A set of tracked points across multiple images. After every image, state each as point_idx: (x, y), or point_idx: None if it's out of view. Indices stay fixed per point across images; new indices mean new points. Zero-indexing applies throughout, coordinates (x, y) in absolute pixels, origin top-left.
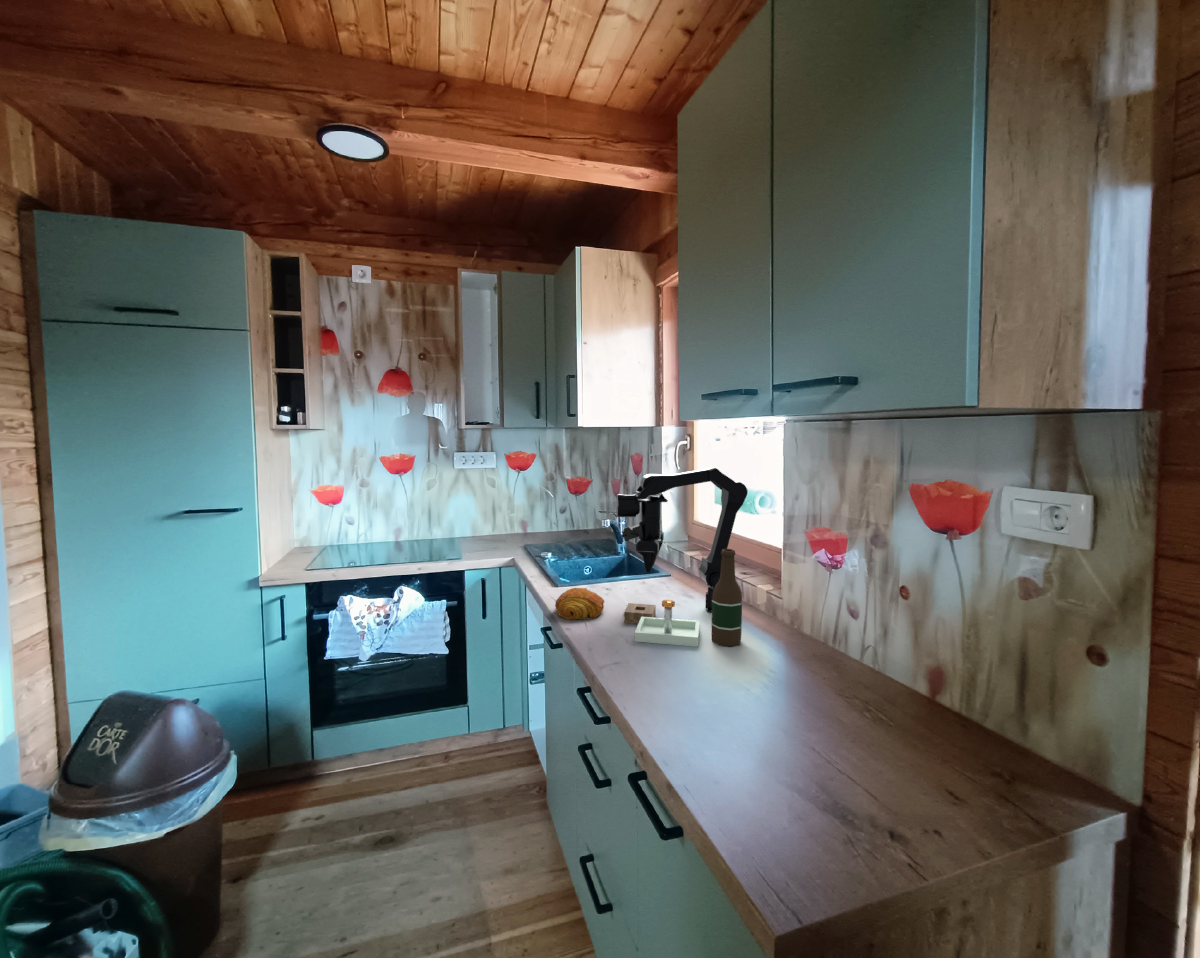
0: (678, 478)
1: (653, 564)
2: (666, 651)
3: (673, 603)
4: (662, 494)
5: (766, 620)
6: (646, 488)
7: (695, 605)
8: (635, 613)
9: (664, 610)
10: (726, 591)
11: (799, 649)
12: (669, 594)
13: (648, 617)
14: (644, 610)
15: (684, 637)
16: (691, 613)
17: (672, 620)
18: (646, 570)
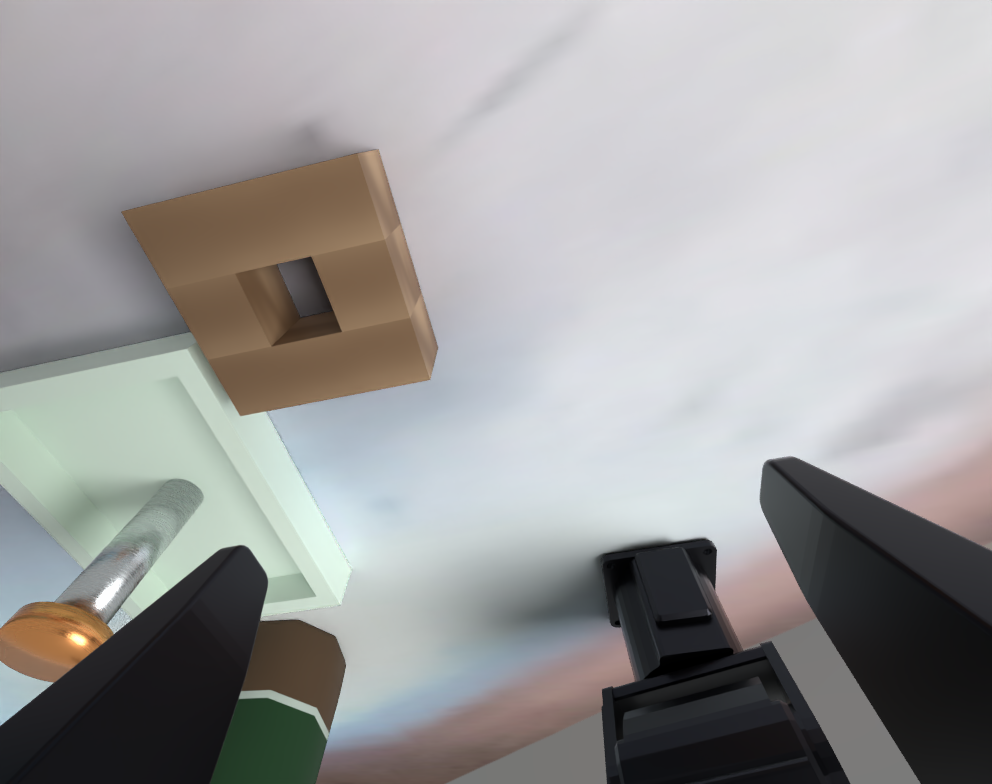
0: None
1: (762, 509)
2: (25, 523)
3: (50, 679)
4: None
5: (575, 705)
6: None
7: (695, 492)
8: (180, 303)
9: (70, 585)
10: None
11: (364, 766)
12: (924, 302)
13: (206, 395)
14: (269, 348)
15: None
16: (552, 502)
17: (264, 513)
18: (189, 580)
